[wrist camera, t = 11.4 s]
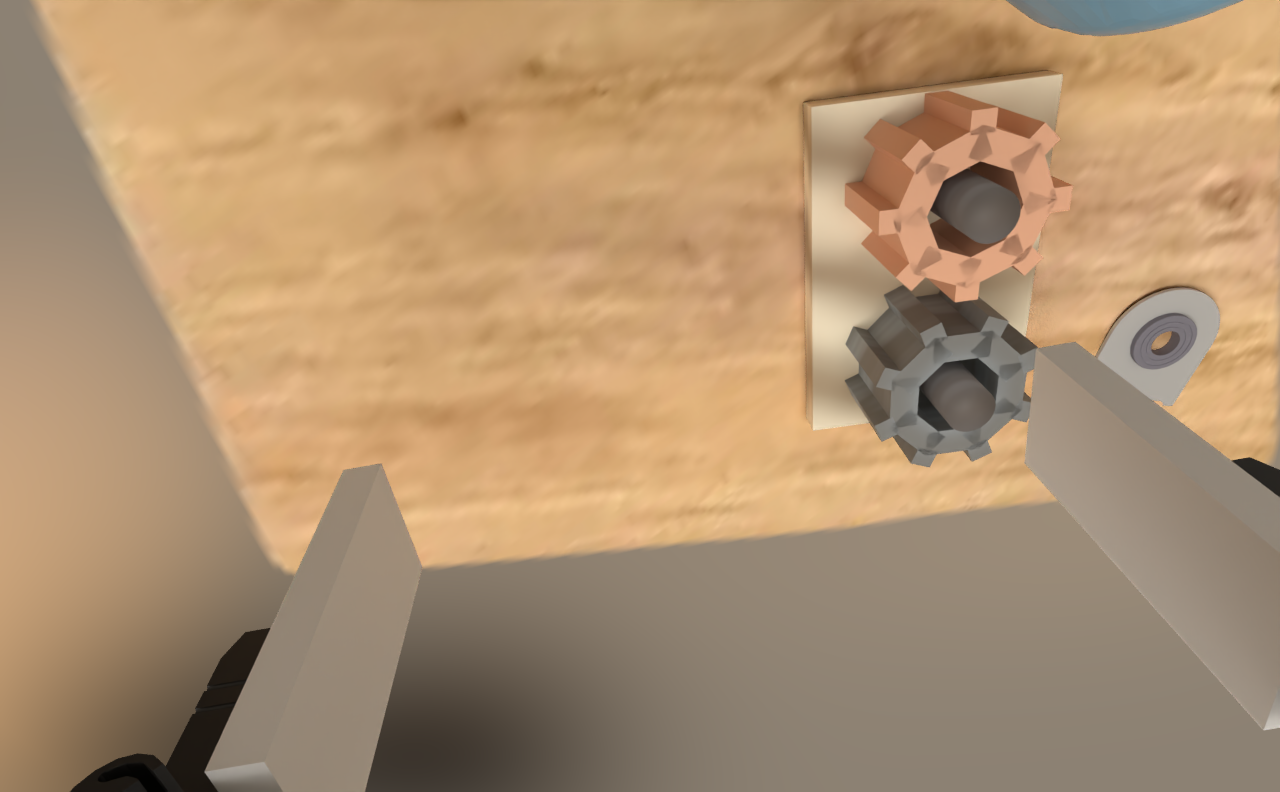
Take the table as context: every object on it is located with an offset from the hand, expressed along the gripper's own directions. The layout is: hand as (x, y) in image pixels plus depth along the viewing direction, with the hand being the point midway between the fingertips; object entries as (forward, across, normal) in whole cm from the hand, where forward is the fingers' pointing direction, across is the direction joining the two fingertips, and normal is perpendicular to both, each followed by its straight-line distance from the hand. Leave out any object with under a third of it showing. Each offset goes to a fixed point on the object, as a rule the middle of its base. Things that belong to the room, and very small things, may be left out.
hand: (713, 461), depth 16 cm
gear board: (+26, +14, -8) cm, 31 cm away
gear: (+25, +14, -3) cm, 29 cm away
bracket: (+27, +28, -17) cm, 42 cm away
